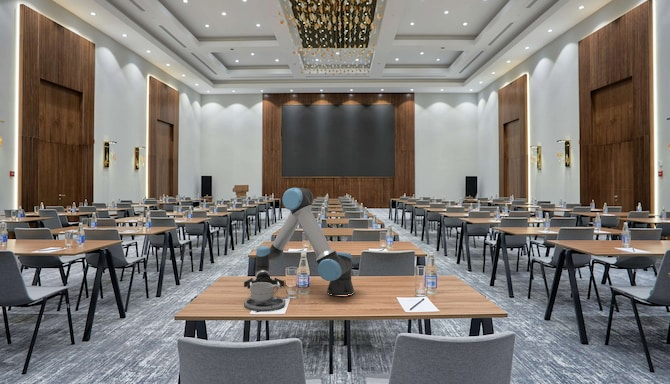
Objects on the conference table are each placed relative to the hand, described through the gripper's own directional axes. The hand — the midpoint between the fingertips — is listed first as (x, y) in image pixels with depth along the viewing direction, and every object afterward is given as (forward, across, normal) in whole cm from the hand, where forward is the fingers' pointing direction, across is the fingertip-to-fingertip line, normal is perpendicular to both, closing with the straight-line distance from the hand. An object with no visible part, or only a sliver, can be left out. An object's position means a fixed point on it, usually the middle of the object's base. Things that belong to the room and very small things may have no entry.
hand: (265, 287), depth 205 cm
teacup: (+2, 0, -6) cm, 6 cm away
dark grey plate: (-1, 0, -9) cm, 9 cm away
